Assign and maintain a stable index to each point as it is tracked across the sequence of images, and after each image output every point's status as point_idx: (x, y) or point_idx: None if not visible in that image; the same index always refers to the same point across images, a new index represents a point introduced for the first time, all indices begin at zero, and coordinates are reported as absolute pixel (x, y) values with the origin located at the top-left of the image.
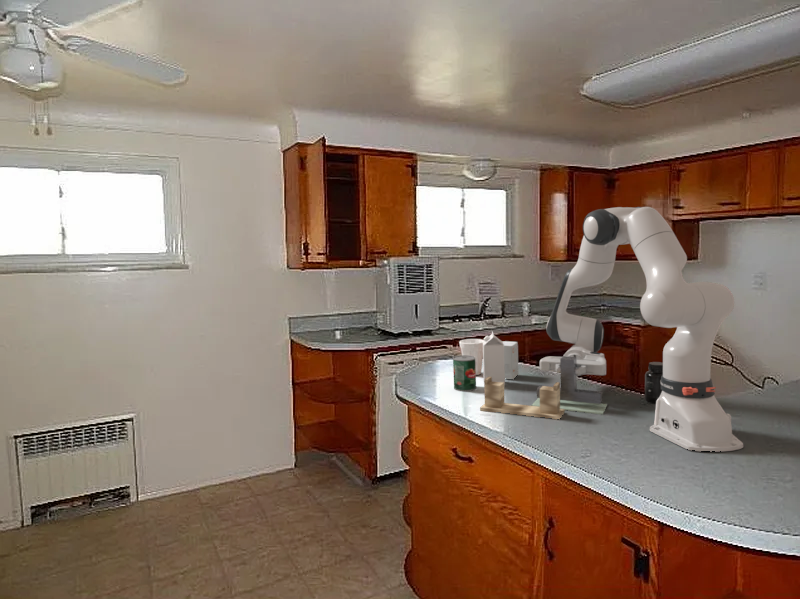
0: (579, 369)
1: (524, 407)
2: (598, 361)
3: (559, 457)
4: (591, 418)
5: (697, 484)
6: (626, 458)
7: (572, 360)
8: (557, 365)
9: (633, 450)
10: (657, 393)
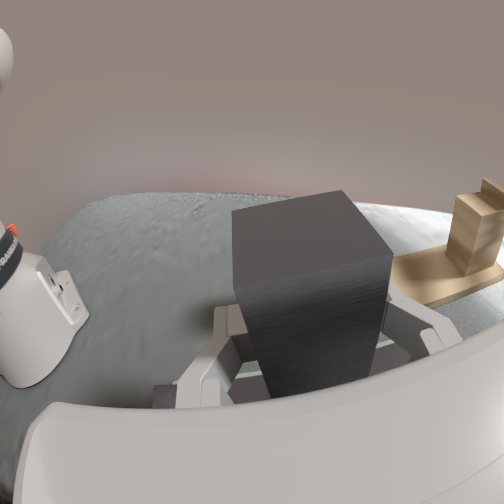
0: (216, 308)
1: (410, 287)
2: (61, 501)
3: (228, 194)
4: (204, 338)
5: (100, 221)
6: (148, 225)
7: (244, 213)
8: (422, 311)
9: (135, 244)
10: (7, 498)
